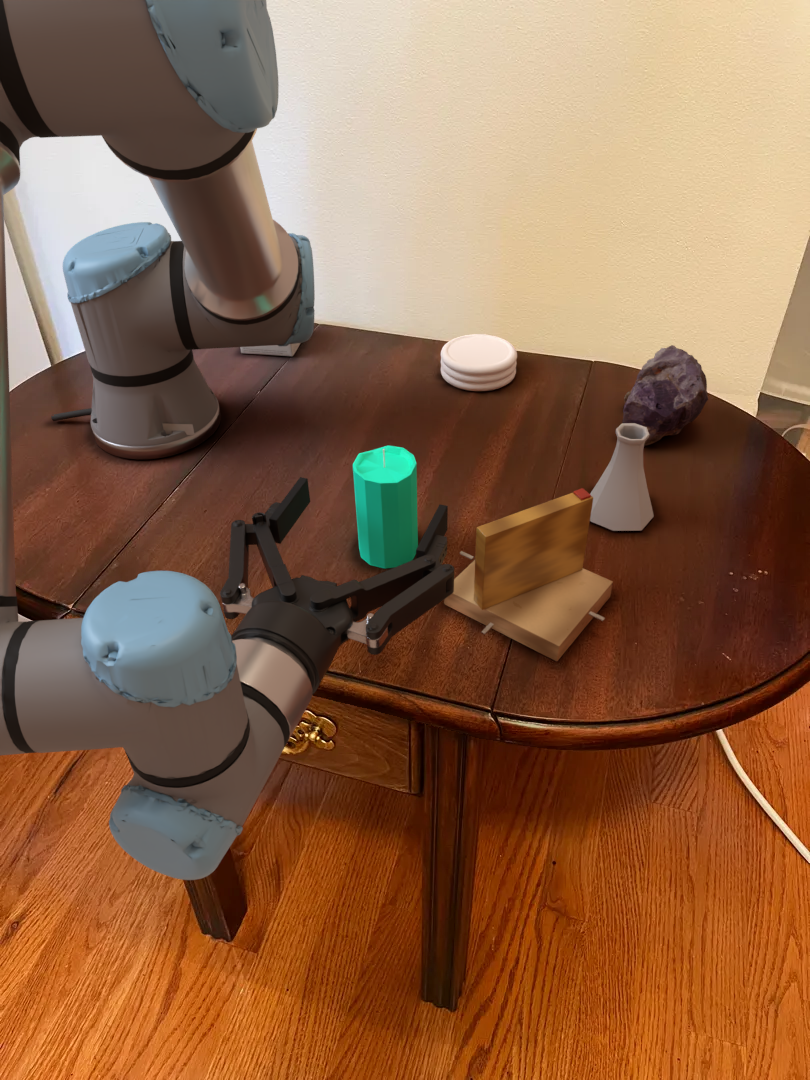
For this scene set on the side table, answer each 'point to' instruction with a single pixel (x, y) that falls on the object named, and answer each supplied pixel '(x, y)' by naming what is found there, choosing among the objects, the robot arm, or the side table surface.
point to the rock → (666, 394)
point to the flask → (624, 484)
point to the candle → (386, 506)
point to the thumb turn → (531, 548)
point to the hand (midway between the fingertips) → (373, 502)
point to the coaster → (478, 362)
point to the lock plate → (537, 609)
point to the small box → (271, 350)
